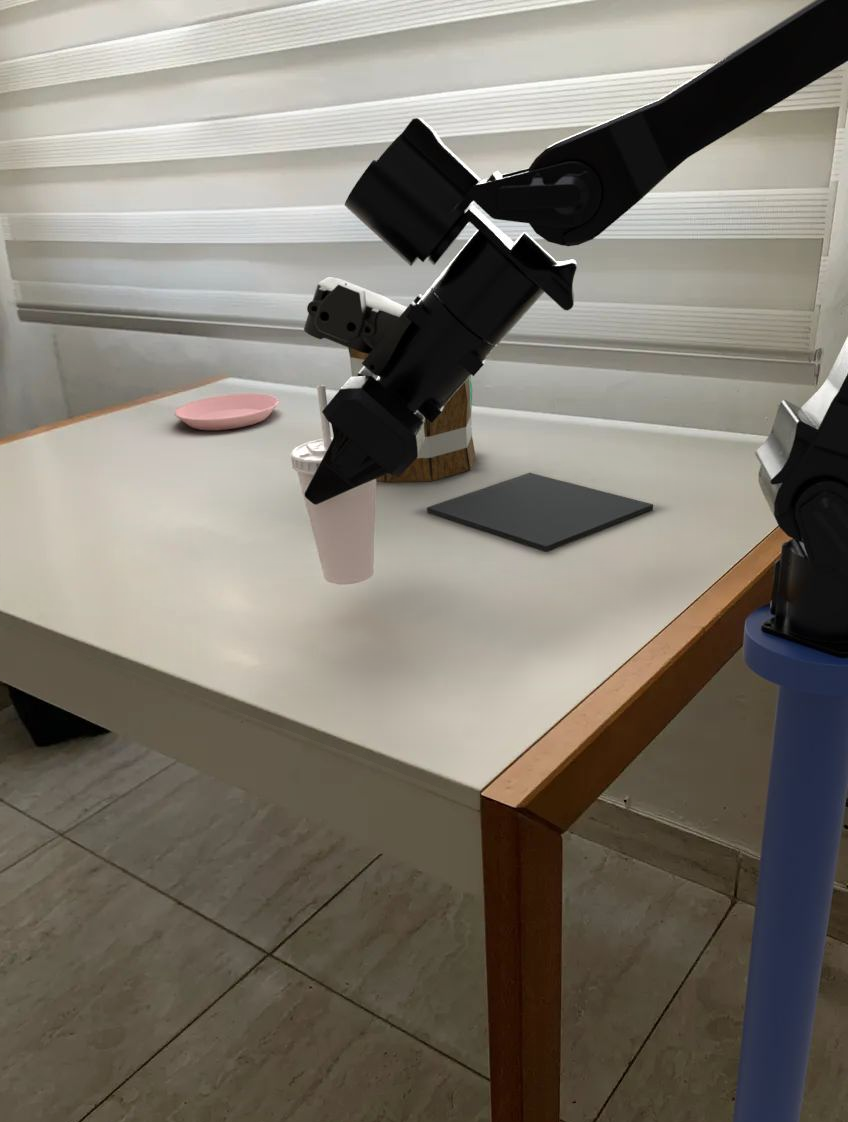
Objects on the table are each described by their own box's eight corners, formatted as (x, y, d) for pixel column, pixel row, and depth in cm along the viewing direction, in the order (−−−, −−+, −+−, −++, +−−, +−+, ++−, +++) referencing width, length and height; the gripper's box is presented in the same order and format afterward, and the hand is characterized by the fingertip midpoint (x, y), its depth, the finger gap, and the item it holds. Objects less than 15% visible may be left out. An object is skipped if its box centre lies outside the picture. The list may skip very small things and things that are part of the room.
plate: (196, 440, 132) (194, 425, 131) (163, 420, 144) (161, 406, 143) (296, 419, 137) (295, 405, 136) (257, 402, 149) (255, 388, 148)
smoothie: (336, 554, 80) (314, 374, 74) (407, 563, 77) (391, 376, 71) (289, 585, 75) (262, 396, 69) (363, 596, 72) (342, 399, 66)
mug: (493, 472, 109) (488, 327, 102) (369, 489, 107) (356, 343, 100) (445, 429, 126) (439, 303, 120) (338, 444, 124) (326, 317, 118)
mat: (653, 509, 94) (653, 504, 94) (546, 551, 87) (546, 546, 87) (529, 477, 106) (529, 472, 106) (426, 512, 99) (426, 507, 99)
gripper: (394, 217, 73) (268, 381, 80) (340, 245, 57) (188, 447, 64) (508, 322, 75) (375, 473, 82) (488, 379, 59) (324, 561, 66)
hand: (320, 485), depth 73 cm, fingers closed on smoothie, 6 cm apart
